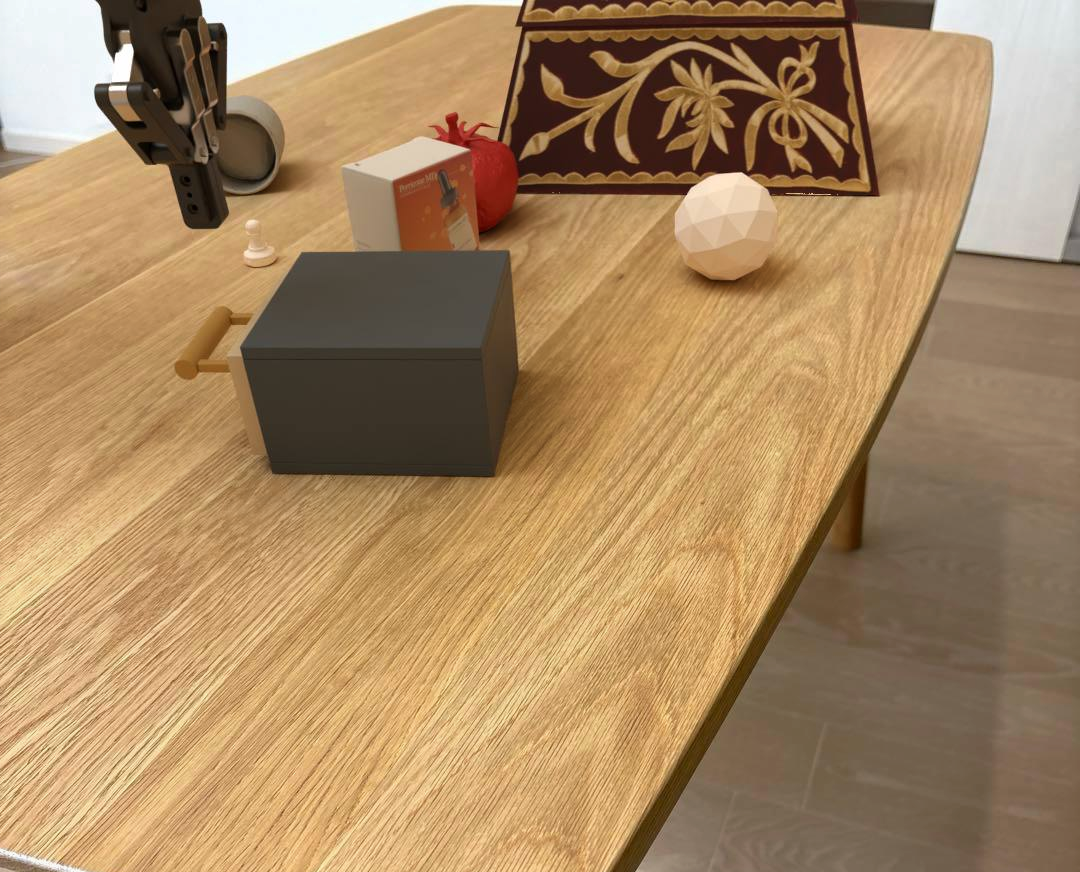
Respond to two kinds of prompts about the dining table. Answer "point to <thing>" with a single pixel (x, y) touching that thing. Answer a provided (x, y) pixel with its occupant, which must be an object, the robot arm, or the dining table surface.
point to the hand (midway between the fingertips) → (208, 223)
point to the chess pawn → (257, 247)
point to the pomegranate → (485, 170)
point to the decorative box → (688, 97)
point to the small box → (413, 198)
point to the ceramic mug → (249, 145)
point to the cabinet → (386, 363)
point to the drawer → (228, 359)
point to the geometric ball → (726, 226)
